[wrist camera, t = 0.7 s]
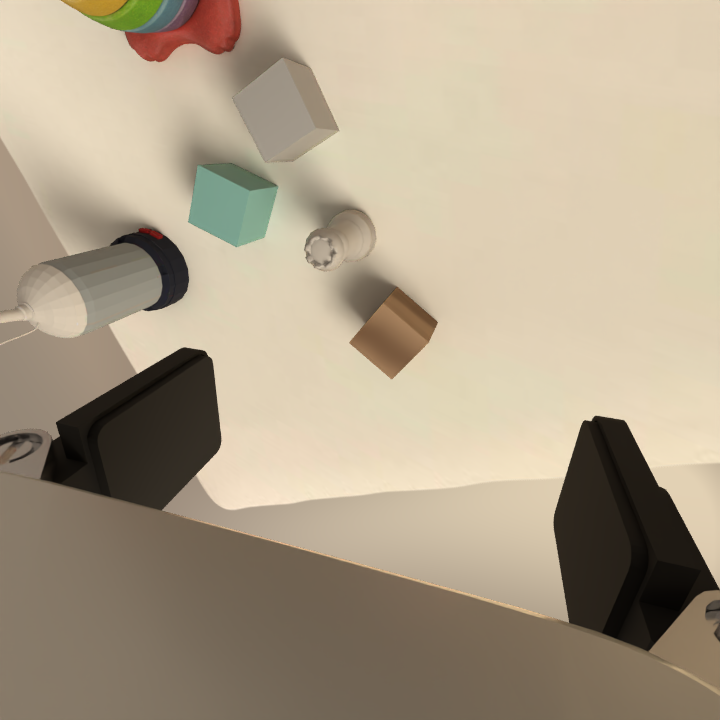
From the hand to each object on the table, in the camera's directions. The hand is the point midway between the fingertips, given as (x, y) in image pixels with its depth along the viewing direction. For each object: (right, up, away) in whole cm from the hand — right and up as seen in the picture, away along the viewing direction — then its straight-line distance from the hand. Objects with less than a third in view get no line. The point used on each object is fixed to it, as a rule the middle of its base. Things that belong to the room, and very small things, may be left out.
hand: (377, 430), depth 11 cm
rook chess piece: (-1, +13, +29) cm, 31 cm away
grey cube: (-5, +22, +26) cm, 34 cm away
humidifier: (-23, +12, +37) cm, 45 cm away
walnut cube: (+3, +5, +31) cm, 31 cm away
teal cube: (-11, +17, +30) cm, 36 cm away
